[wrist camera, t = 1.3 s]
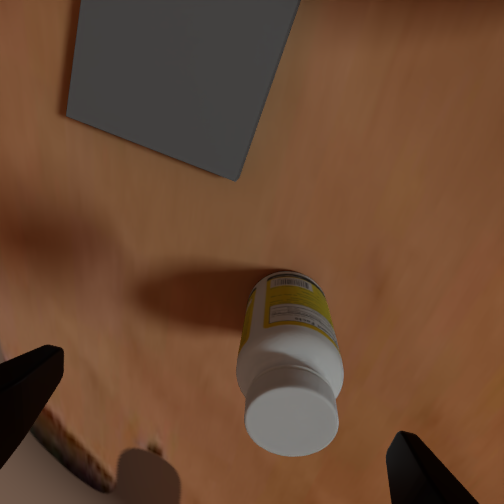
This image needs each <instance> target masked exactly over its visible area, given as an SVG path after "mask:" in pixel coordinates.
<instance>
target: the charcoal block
mask: <svg viewBox="0 0 504 504" xmlns="http://www.w3.org/2000/svg"><path fill="white" fill-rule="evenodd" d="M300 1H301V0H81V5H80V13H79V20H78V28H77V35H76V43H75V51H74V58H73V66H72V74H71V81H70V89H69V97H68V104H67V112H66V116H67V117H70V118H72V119H75V120H77V121H80V122H83V123H85V124H88V125H90V126H93V127H95V128H98V129H101V130H103V131H106V132H108V133H111V134H114V135H116V136H119V137H121V138H124V139H126V140H129V141H132V142H134V143H137V144H139V145H142V146H145V147H147V148H150V149H152V150H155V151H157V152H160V153H163V154H165V155H168V156H170V157H173V158H176V159H178V160H181V161H183V162H186V163H188V164H191V165H194V166H196V167H199V168H201V169H204V170H207V171H209V172H212V173H214V174H217V175H219V176H222V177H225V178H227V179H230V180H232V181H235V182H236V181H237V180H238V179H239V177H240V174H241V171H242V168H243V165H244V162H245V160H246V157H247V154H248V151H249V148H250V145H251V142H252V139H253V137H254V134H255V131H256V128H257V125H258V122H259V119H260V116H261V114H262V111H263V108H264V105H265V102H266V99H267V96H268V93H269V91H270V88H271V85H272V82H273V79H274V76H275V73H276V70H277V67H278V65H279V62H280V59H281V56H282V53H283V50H284V47H285V44H286V42H287V39H288V36H289V33H290V30H291V27H292V24H293V21H294V19H295V16H296V13H297V10H298V7H299V4H300Z"/></svg>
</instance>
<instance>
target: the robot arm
mask: <svg viewBox="0 0 504 504" xmlns="http://www.w3.org/2000/svg"><path fill="white" fill-rule="evenodd" d="M63 372H64V351H63V349H62V348H61V347H57V346H53V345H44V346H41V347H39V348H37V349H34V350H32V351H29V352H27V353H25V354H22V355H20V356H18V357H15V358H13V359H10V360H8V361H6V362H3V363H1V364H0V469H1V468H2V467H3V465H4V464H5V463H6V461H7V460H8V459H9V458H10V456H11V455H12V454H13V452H14V451H15V450H16V449H17V447H18V446H19V444H20V443H21V441H22V440H23V439H24V438H25V436H26V435H27V433H28V432H29V430H30V429H31V427H32V425H33V424H34V422H35V421H36V419H37V418H38V416H39V414H40V413H41V411H42V410H43V408H44V406H45V405H46V403H47V402H48V400H49V398H50V397H51V395H52V394H53V392H54V391H55V389H56V387H57V386H58V384H59V383H60V381H61V379H62V376H63ZM386 465H387V472H388V480H389V487H390V495H391V503H392V504H479V503H478V502H477V501H476V500H475V498H474V497H473V496H472V495H471V494H470V493H469V492H468V491H467V490H466V489H465V487H464V486H463V485H462V484H461V483H460V482H459V481H458V480H457V479H456V478H455V476H454V475H453V474H452V473H451V472H450V471H449V470H448V469H447V468H446V467H445V465H444V464H443V463H442V462H441V461H440V460H439V459H438V458H437V457H436V456H435V454H434V453H433V452H432V451H431V450H430V449H429V448H428V447H427V446H426V445H425V443H424V442H423V441H422V440H421V439H420V438H419V437H418V436H417V435H416V434H413V433H409V432H405V431H399V432H398V433H397V434H396V436H395V438H394V439H393V441H392V443H391V445H390V447H389V448H388V450H387V454H386Z"/></svg>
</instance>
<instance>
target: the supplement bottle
mask: <svg viewBox="0 0 504 504" xmlns="http://www.w3.org/2000/svg"><path fill="white" fill-rule="evenodd" d="M236 375H237V381H238V385H239V387H240V389H241V392H242V393H243V395H244V396H245V398H246V404H245V414H244V422H245V427H246V430H247V432H248V434H249V436H250V437H251V438H252V440H253V441H254V442H255V443H256V444H258V445H259V446H260V447H262V448H264V449H265V450H267V451H269V452H272V453H275V454H278V455H282V456H305V455H309V454H312V453H315V452H318V451H320V450H322V449H323V448H325V447H326V446H327V445H328V444H329V443H330V442H331V441H332V440H333V439H334V437H335V435H336V433H337V430H338V425H339V420H338V413H337V406H336V398H337V396H338V395H339V392H340V390H341V388H342V384H343V377H344V371H343V364H342V359H341V355H340V351H339V347H338V343H337V339H336V335H335V332H334V328H333V324H332V320H331V316H330V312H329V308H328V305H327V302H326V298H325V296H324V293H323V291H322V290H321V288H320V287H319V286H318V285H317V284H316V282H314V281H313V280H312V279H311V278H309V277H307V276H305V275H303V274H300V273H297V272H290V271H283V272H277V273H273V274H270V275H268V276H266V277H265V278H263V279H262V280H260V281H259V282H258V283H257V284H256V285H255V287H254V288H253V290H252V291H251V294H250V296H249V299H248V303H247V309H246V314H245V320H244V325H243V331H242V336H241V341H240V347H239V352H238V358H237V367H236Z"/></svg>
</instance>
